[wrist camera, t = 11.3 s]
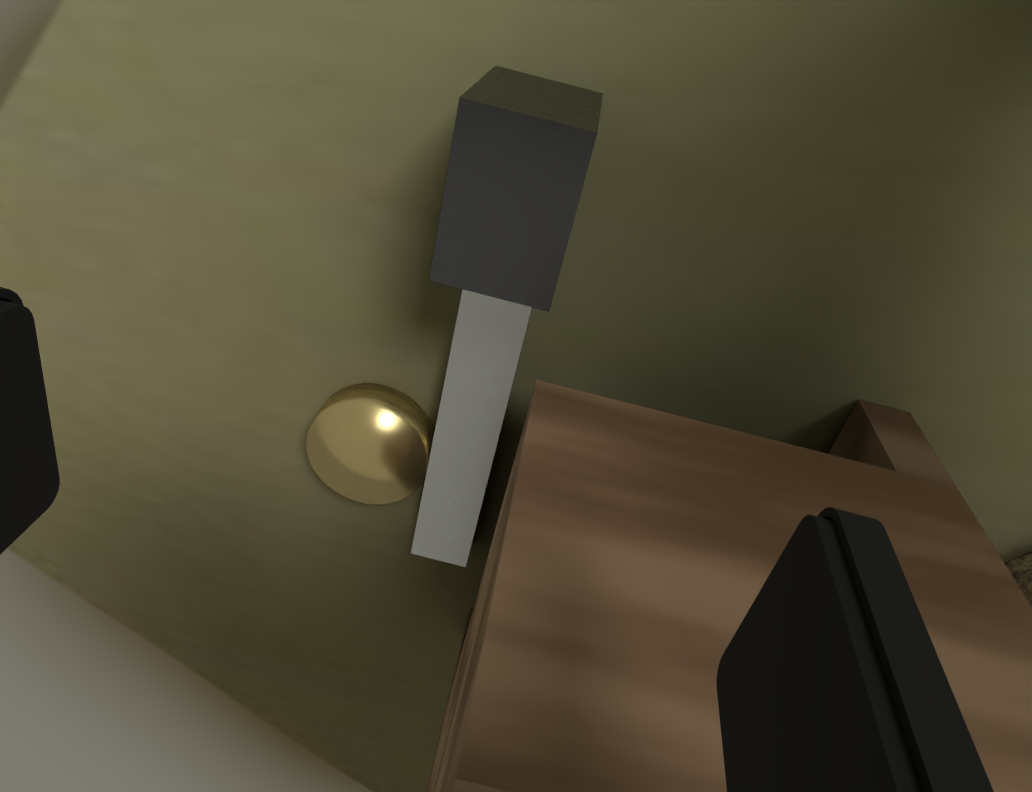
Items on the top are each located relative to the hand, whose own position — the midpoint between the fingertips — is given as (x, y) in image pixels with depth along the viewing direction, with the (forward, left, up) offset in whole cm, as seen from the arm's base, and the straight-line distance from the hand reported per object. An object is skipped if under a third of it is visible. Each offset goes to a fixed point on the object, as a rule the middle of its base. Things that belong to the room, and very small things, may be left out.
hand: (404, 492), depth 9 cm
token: (+13, -4, -18) cm, 23 cm away
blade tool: (+8, 0, -18) cm, 20 cm away
